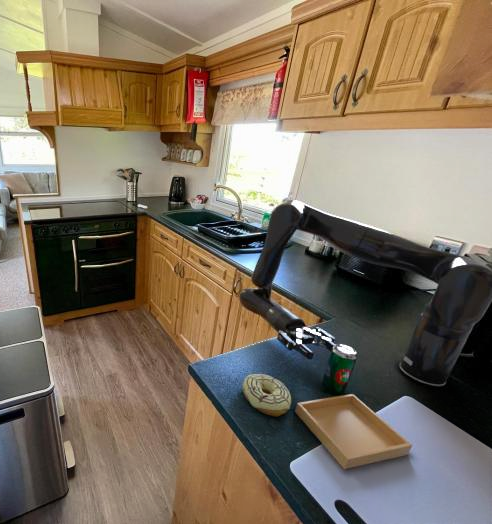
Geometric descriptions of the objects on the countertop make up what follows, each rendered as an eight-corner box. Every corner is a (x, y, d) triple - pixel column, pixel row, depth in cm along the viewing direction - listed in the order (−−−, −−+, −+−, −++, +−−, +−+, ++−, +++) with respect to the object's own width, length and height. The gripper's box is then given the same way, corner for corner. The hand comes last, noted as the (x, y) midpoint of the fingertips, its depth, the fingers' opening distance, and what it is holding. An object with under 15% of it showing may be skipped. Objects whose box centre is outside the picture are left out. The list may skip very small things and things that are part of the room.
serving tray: (349, 402, 69) (352, 393, 68) (408, 454, 57) (412, 445, 56) (294, 411, 66) (297, 402, 65) (344, 469, 54) (348, 459, 53)
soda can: (322, 378, 76) (334, 340, 72) (345, 388, 73) (359, 348, 69) (319, 389, 72) (331, 349, 68) (343, 399, 69) (357, 358, 65)
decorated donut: (250, 418, 63) (253, 405, 62) (235, 382, 74) (237, 370, 72) (297, 419, 64) (301, 406, 62) (276, 383, 74) (279, 371, 72)
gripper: (266, 312, 86) (305, 345, 72) (306, 309, 89) (352, 340, 75) (261, 334, 89) (299, 370, 74) (301, 330, 92) (344, 363, 77)
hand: (325, 354), depth 74 cm, fingers open, 8 cm apart
